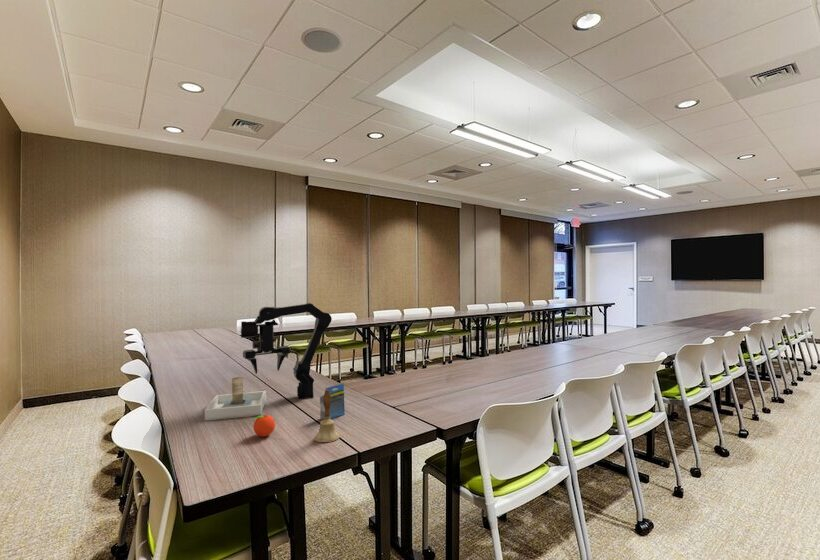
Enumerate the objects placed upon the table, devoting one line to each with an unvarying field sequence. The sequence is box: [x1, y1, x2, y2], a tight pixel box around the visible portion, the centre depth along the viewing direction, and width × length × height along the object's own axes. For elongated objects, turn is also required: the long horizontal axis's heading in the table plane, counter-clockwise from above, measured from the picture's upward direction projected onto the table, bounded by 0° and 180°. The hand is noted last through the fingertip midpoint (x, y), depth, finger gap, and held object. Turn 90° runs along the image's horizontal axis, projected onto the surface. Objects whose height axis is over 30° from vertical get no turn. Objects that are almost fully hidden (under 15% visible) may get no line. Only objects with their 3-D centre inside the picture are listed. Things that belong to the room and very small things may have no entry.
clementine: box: [249, 414, 276, 437], centre depth 133 cm, size 8×7×7 cm
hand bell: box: [314, 389, 341, 443], centre depth 131 cm, size 8×8×16 cm
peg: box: [231, 376, 244, 405], centre depth 161 cm, size 4×4×12 cm
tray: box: [204, 390, 267, 422], centre depth 161 cm, size 20×20×4 cm
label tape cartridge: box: [319, 382, 346, 421], centre depth 151 cm, size 9×4×12 cm, turn 139°
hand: (267, 371), depth 171 cm, fingers open, 9 cm apart
